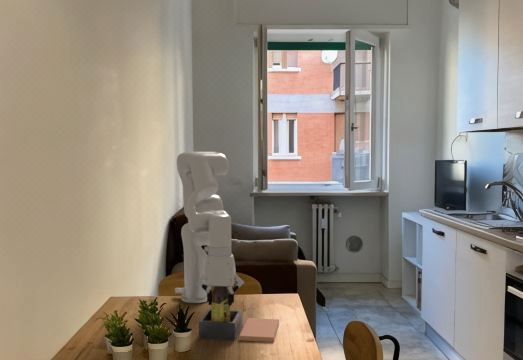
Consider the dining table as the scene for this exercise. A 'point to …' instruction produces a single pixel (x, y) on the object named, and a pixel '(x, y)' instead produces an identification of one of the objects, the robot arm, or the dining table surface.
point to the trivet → (260, 330)
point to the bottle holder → (220, 326)
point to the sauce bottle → (220, 304)
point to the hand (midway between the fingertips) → (220, 303)
